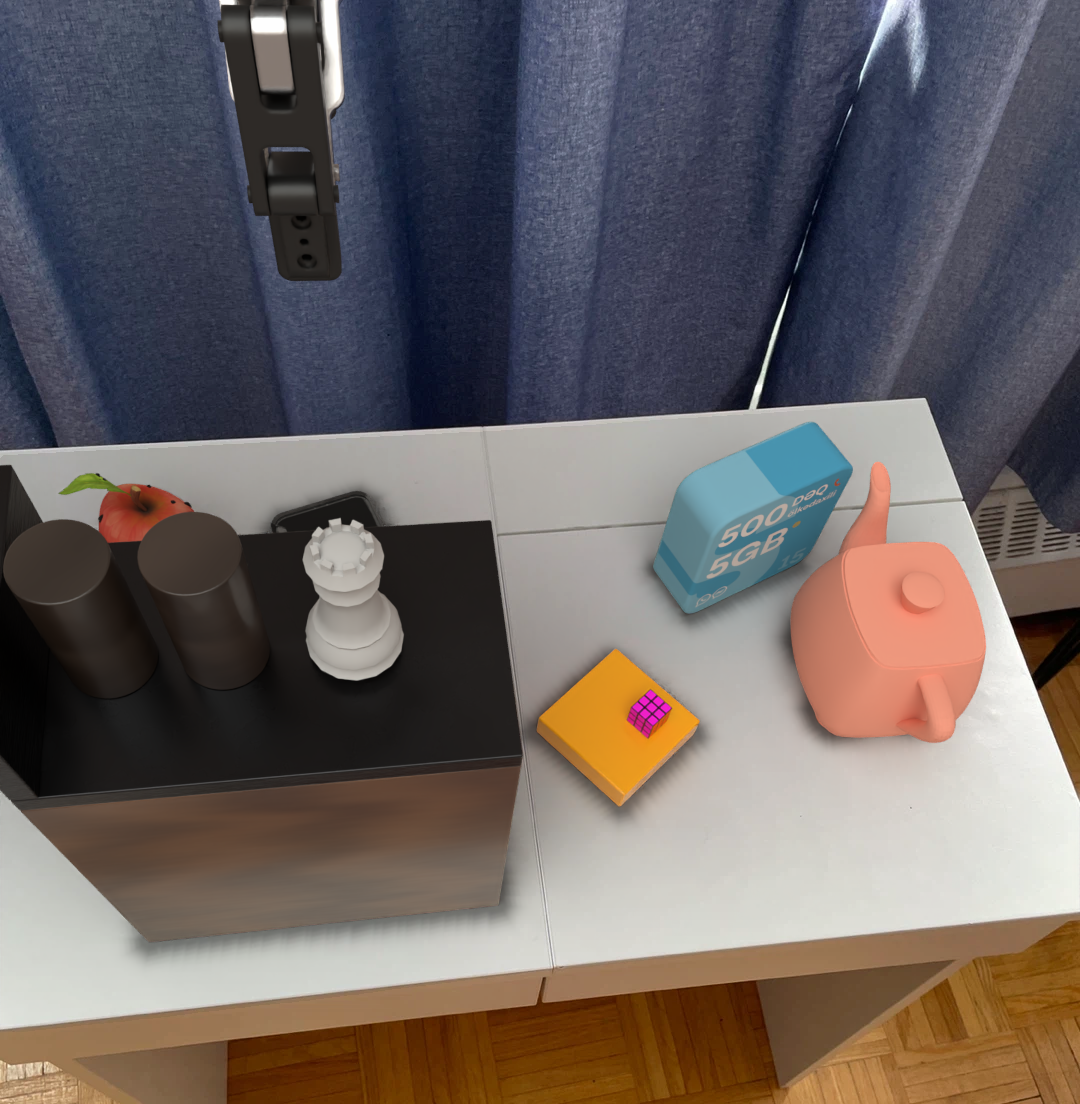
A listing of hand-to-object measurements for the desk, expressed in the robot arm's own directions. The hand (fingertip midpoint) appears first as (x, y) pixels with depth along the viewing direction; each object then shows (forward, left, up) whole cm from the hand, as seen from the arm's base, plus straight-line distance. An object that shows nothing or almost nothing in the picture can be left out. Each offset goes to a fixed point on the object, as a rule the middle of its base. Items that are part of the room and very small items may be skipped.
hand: (309, 190), depth 40 cm
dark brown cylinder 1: (-3, -15, -16) cm, 22 cm away
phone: (-6, +6, -40) cm, 41 cm away
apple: (-19, 0, -41) cm, 45 cm away
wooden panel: (+3, -10, -40) cm, 42 cm away
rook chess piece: (+6, -8, -16) cm, 19 cm away
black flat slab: (+3, -10, -17) cm, 21 cm away
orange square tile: (+16, +6, -41) cm, 44 cm away
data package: (+17, +23, -41) cm, 50 cm away
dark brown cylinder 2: (+1, -12, -16) cm, 20 cm away
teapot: (+29, +20, -41) cm, 54 cm away
